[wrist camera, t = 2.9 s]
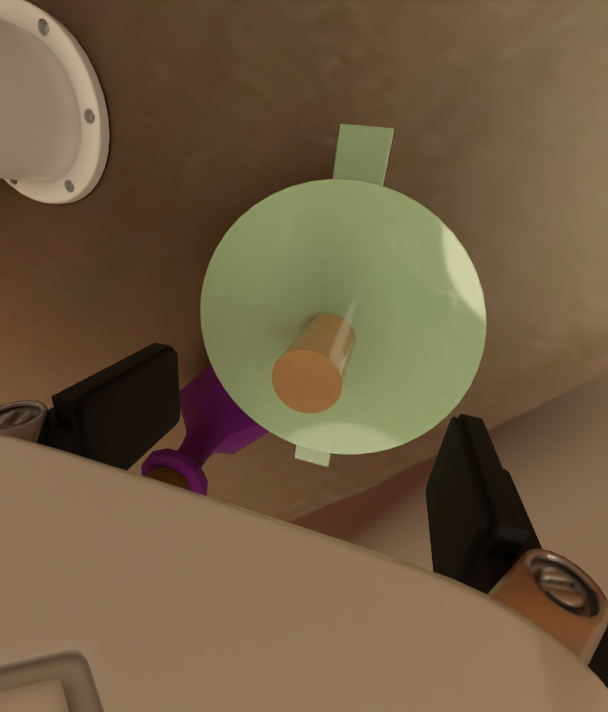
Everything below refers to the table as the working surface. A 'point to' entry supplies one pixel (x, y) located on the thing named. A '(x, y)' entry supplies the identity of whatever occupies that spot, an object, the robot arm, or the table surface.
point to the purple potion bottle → (203, 434)
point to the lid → (343, 316)
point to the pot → (364, 163)
